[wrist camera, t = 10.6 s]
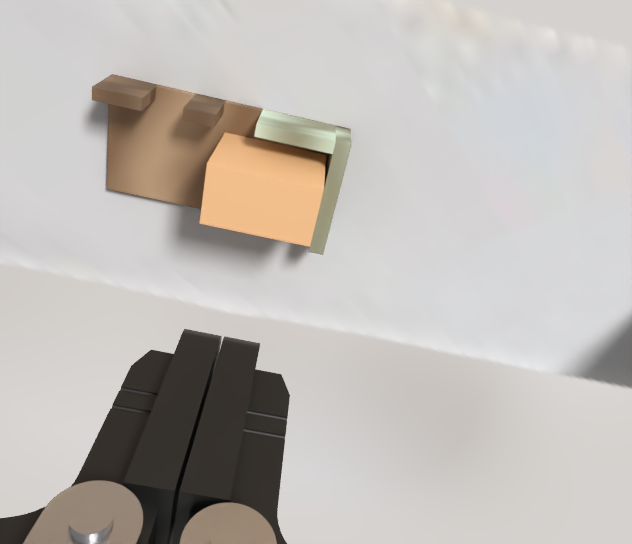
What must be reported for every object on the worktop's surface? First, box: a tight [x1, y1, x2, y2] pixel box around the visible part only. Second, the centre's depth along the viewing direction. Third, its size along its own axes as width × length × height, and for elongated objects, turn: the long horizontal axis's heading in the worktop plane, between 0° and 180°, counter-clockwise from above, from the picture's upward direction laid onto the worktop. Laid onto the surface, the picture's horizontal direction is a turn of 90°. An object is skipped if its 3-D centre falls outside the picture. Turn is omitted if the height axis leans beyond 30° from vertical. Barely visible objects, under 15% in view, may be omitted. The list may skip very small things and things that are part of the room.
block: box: [199, 132, 326, 247], centre depth 37 cm, size 7×4×6 cm, turn 78°
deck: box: [92, 74, 351, 255], centre depth 38 cm, size 16×8×4 cm, turn 78°
